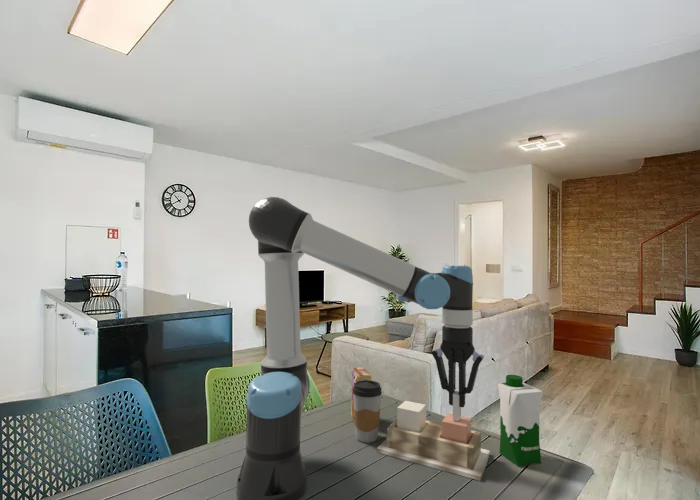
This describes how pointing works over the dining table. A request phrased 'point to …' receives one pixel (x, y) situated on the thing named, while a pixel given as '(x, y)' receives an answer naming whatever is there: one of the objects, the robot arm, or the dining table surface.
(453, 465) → the housing
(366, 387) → the coffee cup
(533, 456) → the milk carton
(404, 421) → the white block
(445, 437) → the salmon pink block
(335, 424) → the dining table surface
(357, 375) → the candy box
